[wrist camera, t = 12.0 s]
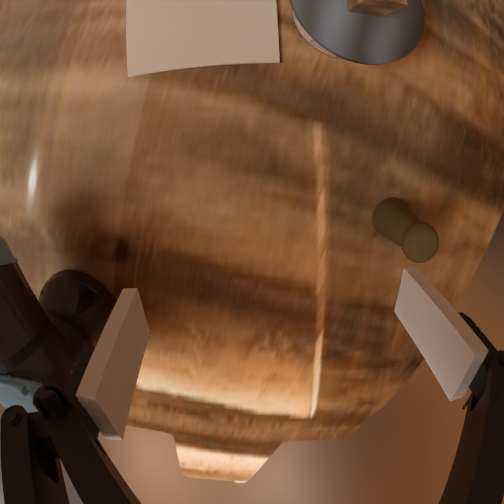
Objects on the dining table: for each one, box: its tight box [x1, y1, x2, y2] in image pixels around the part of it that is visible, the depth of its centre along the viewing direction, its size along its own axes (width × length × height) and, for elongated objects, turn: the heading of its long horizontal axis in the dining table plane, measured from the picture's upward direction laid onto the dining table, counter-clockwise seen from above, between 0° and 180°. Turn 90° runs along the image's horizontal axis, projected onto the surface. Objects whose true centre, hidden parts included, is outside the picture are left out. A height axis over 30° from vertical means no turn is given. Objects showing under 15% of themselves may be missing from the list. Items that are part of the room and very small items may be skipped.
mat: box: [126, 0, 280, 77], centre depth 29 cm, size 19×19×1 cm
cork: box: [373, 198, 439, 263], centre depth 40 cm, size 6×6×11 cm
